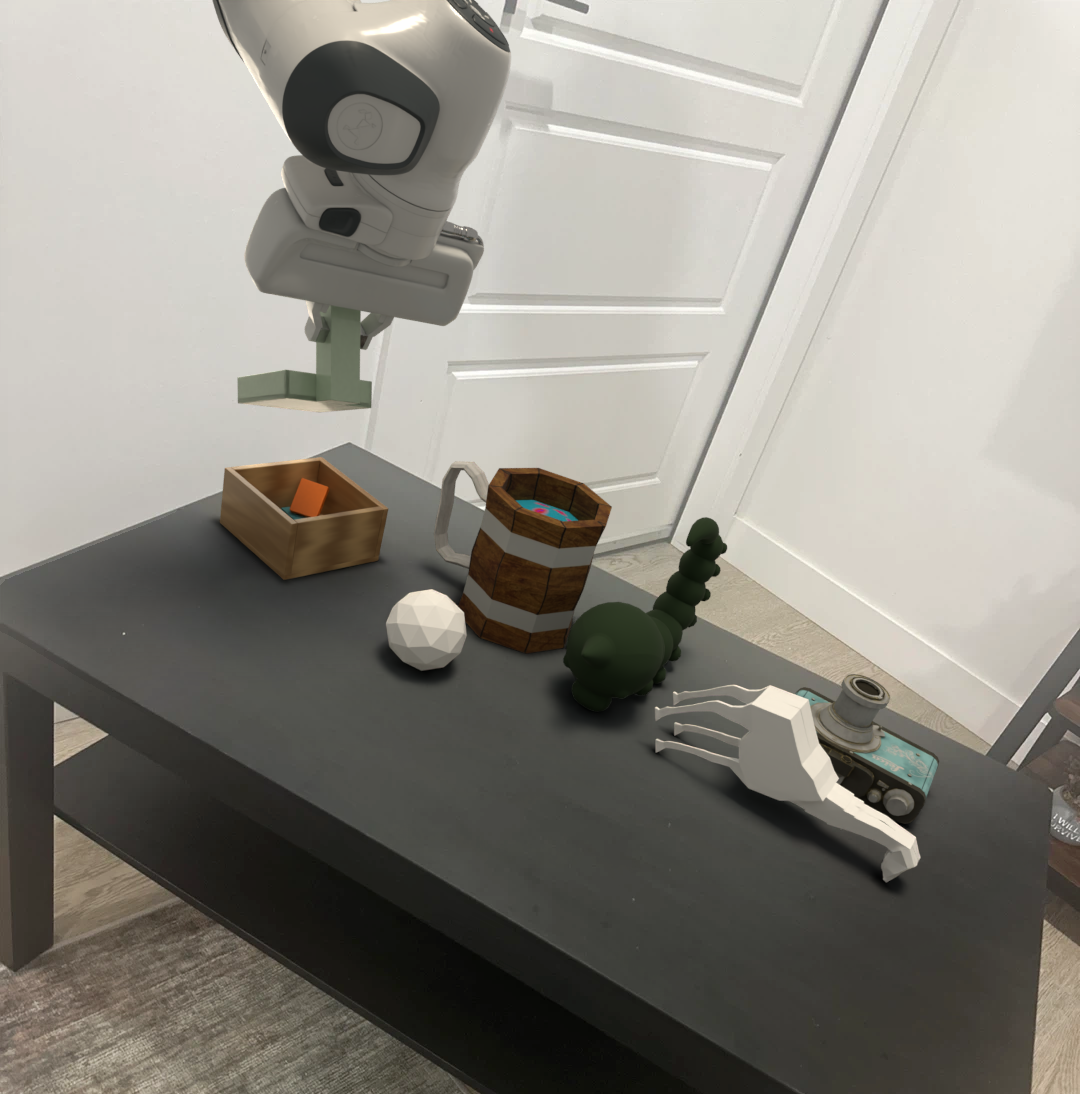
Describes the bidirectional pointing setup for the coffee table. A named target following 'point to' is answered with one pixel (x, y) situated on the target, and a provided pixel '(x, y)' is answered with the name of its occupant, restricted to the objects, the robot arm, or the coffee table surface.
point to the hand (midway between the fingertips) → (334, 341)
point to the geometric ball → (426, 629)
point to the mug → (524, 553)
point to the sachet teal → (292, 515)
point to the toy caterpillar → (641, 629)
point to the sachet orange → (309, 498)
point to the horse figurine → (791, 764)
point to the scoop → (317, 374)
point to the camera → (871, 749)
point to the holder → (308, 543)
